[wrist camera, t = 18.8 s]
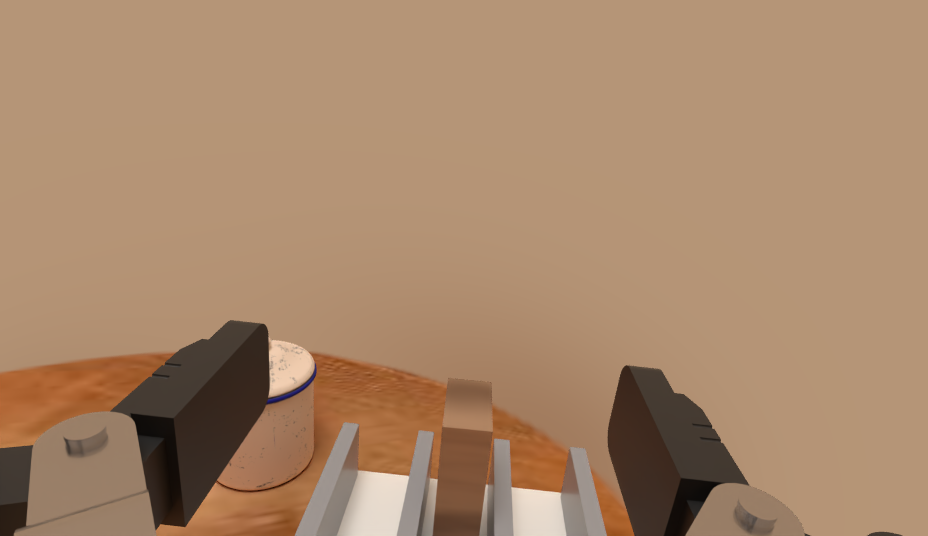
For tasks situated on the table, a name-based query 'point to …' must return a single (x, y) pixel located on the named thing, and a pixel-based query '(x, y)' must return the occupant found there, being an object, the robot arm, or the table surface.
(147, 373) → the table surface
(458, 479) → the walnut board
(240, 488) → the teacup with lid
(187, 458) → the robot arm
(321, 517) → the rack
